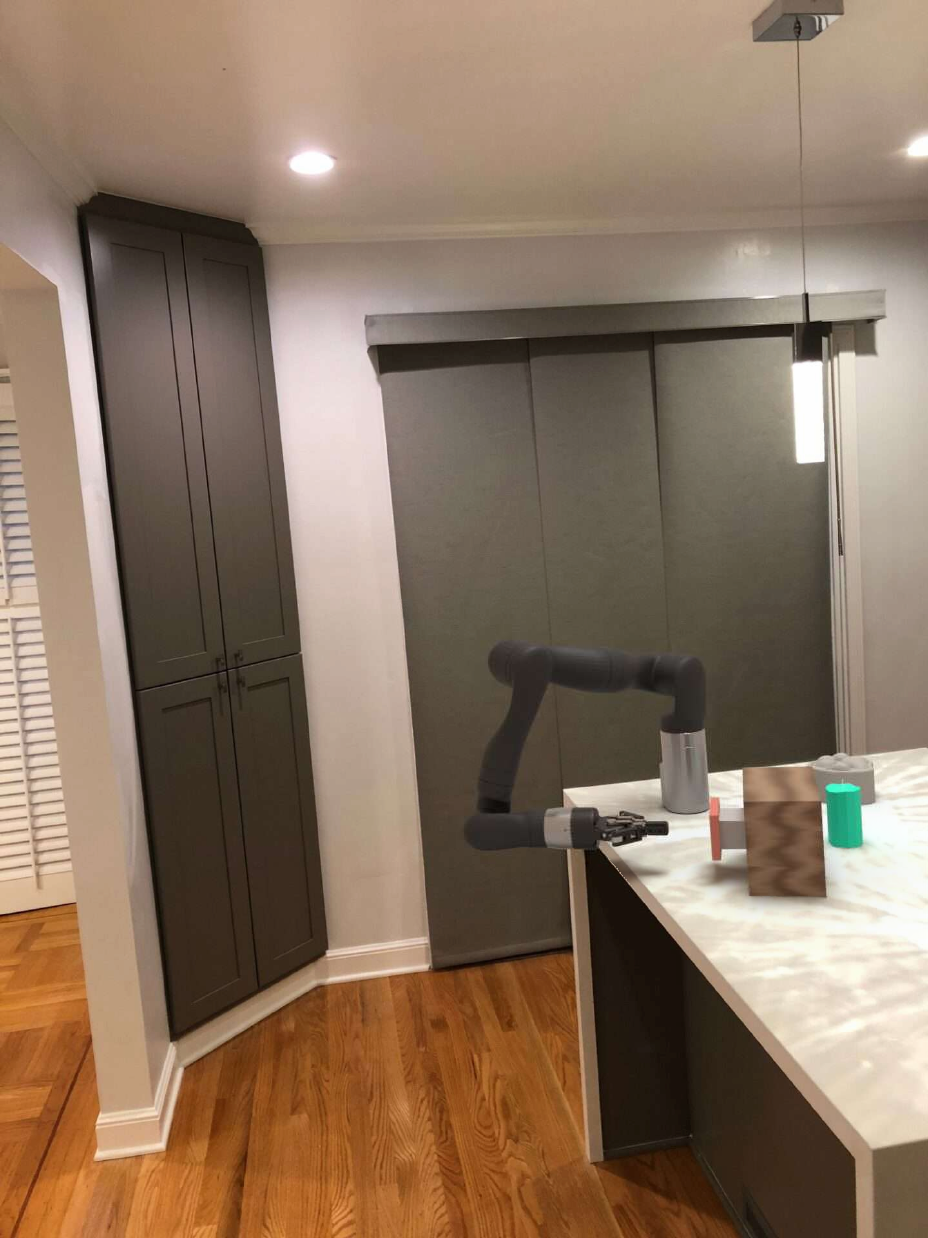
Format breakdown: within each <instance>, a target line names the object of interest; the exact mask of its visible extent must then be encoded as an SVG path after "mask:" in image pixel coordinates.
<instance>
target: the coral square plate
mask: <svg viewBox="0 0 928 1238" xmlns="http://www.w3.org/2000/svg"><path fill="white" fill-rule="evenodd" d="M709 801H710V807H709V811H708V813H709V815H708V816H709V818H708V819H709V820H708V821H709V833H710V834H709V836H710V847H711V848H710V849H711V861H713V862H717V861H718V862H720V861H722V855H723V853H722V852H723V851H722V850H746V836H745V821H744V807H721V806H720V805H721V803H720V802H721V801H720V797H719V796H718V797H715V796H714V797H710V798H709Z"/></svg>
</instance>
